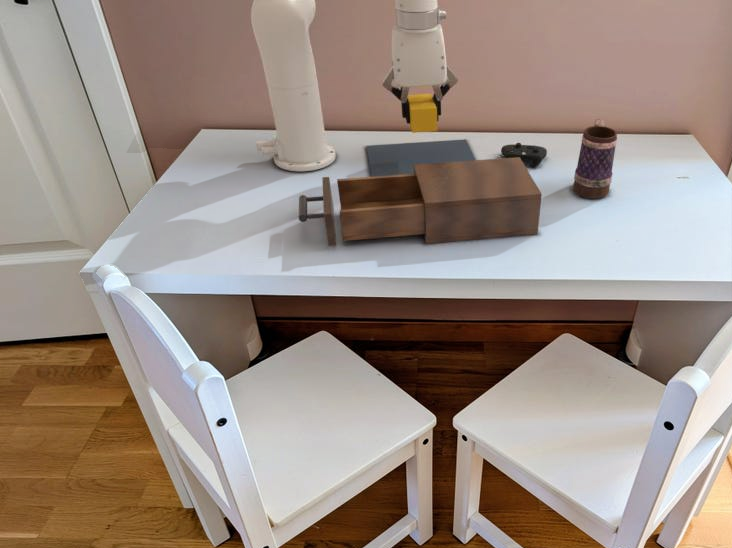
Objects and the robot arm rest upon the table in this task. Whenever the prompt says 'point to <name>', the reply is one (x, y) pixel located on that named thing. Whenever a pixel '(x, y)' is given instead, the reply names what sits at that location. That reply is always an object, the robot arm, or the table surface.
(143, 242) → the table surface
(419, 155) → the mat
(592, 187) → the brown purple cylinder
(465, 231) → the cabinet
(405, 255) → the table surface
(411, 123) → the sponge
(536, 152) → the game controller
